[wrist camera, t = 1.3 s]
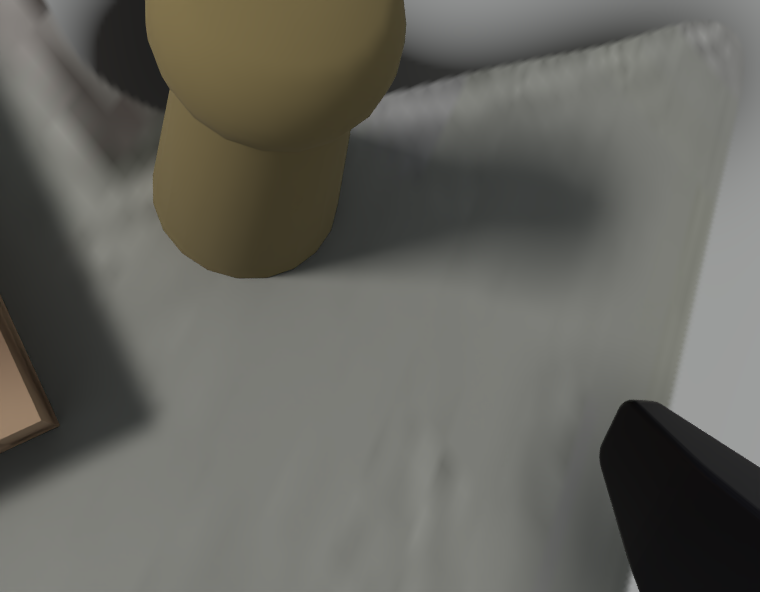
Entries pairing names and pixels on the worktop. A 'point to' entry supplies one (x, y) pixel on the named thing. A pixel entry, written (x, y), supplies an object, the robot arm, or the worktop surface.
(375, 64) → the cork
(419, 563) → the worktop surface
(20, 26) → the worktop surface
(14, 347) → the walnut tray
